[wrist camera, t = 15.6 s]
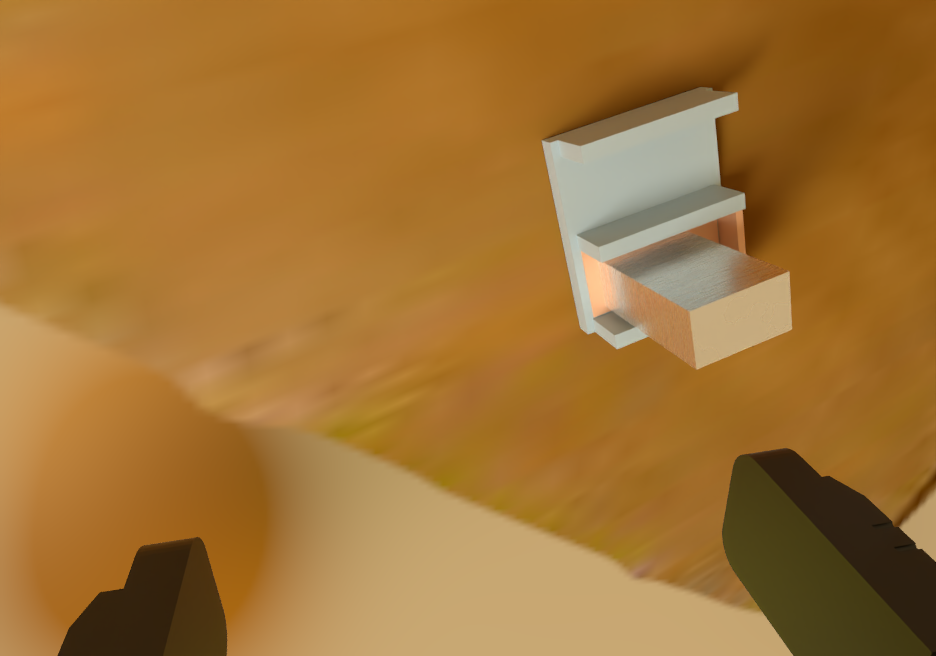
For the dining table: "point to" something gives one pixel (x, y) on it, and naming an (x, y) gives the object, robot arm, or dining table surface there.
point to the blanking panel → (698, 297)
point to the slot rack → (639, 192)
